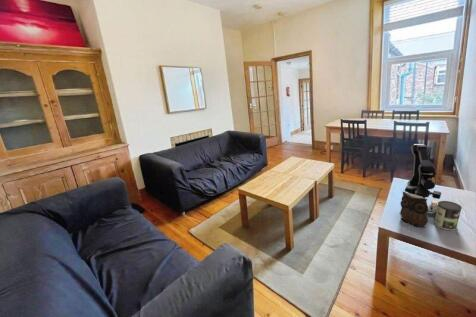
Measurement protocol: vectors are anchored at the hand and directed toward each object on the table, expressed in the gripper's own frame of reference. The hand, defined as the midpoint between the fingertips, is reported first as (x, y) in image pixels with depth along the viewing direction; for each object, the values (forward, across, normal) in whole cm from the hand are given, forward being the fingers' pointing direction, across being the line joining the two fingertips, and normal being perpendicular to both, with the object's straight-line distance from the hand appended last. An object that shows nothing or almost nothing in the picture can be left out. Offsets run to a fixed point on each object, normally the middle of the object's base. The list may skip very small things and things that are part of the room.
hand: (420, 202), depth 154 cm
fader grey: (+1, +8, -4) cm, 9 cm away
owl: (+4, 0, -20) cm, 21 cm away
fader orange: (+1, +7, 0) cm, 7 cm away
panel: (+4, +10, -2) cm, 11 cm away
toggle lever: (+1, +8, -8) cm, 11 cm away
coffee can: (+4, +14, -14) cm, 21 cm away
